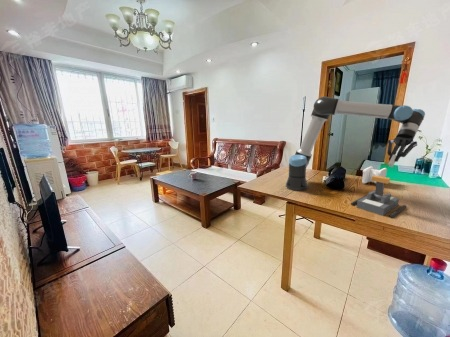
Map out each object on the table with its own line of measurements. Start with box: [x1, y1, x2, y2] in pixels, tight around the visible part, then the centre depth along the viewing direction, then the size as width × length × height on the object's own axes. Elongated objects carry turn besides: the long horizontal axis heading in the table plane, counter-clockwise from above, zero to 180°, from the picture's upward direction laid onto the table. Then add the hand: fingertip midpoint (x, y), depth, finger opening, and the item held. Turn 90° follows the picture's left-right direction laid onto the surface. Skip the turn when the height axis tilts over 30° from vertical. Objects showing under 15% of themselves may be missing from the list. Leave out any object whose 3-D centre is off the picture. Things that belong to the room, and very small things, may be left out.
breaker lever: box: [372, 175, 391, 199], centre depth 102 cm, size 2×7×13 cm, turn 32°
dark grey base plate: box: [350, 194, 407, 219], centre depth 105 cm, size 18×19×1 cm
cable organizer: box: [361, 166, 388, 185], centre depth 139 cm, size 15×11×12 cm
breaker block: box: [356, 189, 400, 216], centre depth 104 cm, size 20×12×8 cm, turn 122°
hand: (390, 165), depth 104 cm, fingers closed
